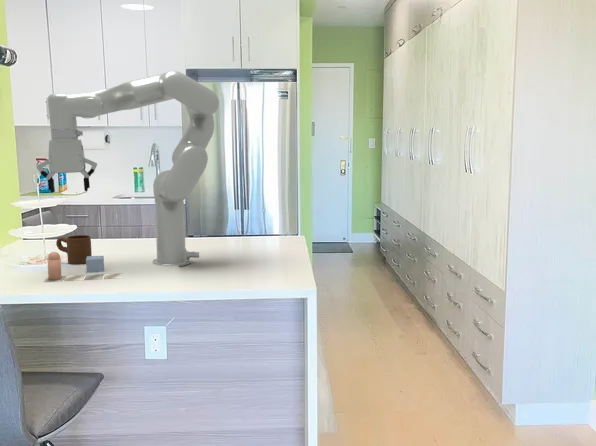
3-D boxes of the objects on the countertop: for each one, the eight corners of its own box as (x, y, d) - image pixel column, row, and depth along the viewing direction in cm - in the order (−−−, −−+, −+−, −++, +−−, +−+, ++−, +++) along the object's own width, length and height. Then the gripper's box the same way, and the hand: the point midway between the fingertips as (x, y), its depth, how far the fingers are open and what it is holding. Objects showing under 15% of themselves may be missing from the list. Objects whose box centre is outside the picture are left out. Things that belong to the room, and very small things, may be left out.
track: (123, 275, 176) (123, 272, 175) (122, 281, 169) (122, 278, 169) (47, 279, 170) (47, 276, 170) (43, 285, 164) (42, 282, 163)
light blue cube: (104, 270, 182) (103, 255, 181) (103, 274, 177) (102, 258, 176) (87, 271, 180) (87, 256, 180) (86, 275, 176) (85, 259, 175)
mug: (51, 265, 187) (49, 237, 186) (64, 260, 195) (62, 234, 193) (84, 267, 185) (82, 239, 184) (96, 262, 193) (95, 235, 191)
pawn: (63, 277, 169) (62, 250, 168) (59, 280, 166) (58, 253, 165) (50, 277, 169) (49, 250, 168) (46, 280, 165) (45, 253, 164)
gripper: (95, 134, 177) (100, 188, 180) (35, 136, 172) (41, 191, 175) (93, 134, 170) (98, 191, 173) (31, 136, 165) (37, 194, 168)
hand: (69, 191), depth 174 cm, fingers open, 9 cm apart
